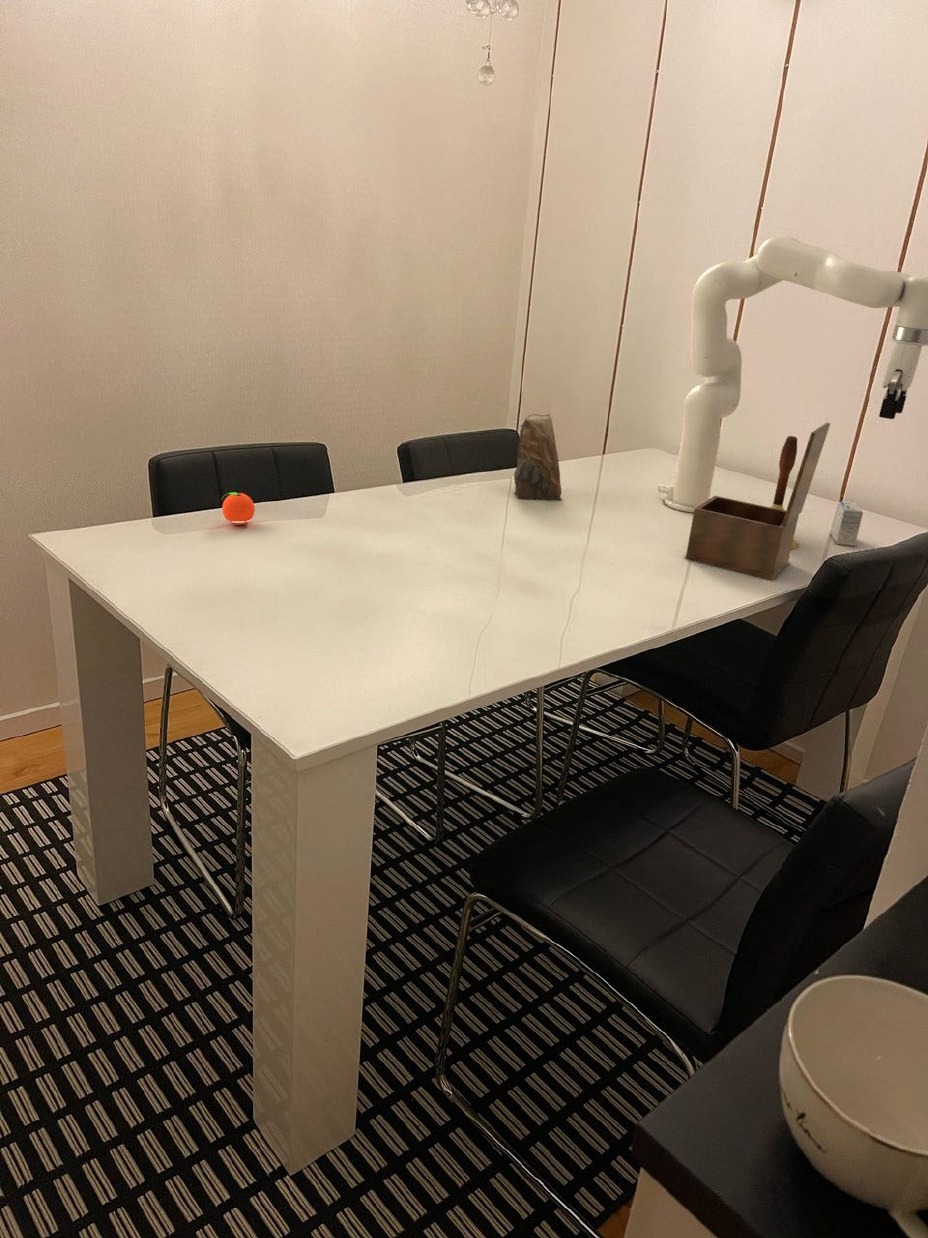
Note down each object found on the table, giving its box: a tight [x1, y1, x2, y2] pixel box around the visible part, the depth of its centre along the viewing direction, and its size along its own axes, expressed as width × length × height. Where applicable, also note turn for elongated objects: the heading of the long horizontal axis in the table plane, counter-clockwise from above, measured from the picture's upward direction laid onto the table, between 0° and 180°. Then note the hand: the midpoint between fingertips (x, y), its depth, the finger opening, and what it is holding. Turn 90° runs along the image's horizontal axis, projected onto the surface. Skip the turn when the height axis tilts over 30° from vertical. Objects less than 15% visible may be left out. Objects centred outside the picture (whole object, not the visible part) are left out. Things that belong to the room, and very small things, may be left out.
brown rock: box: [513, 413, 562, 501], centre depth 241 cm, size 13×13×20 cm
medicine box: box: [831, 501, 864, 547], centre depth 225 cm, size 8×4×9 cm, turn 168°
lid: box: [782, 422, 831, 527], centre depth 194 cm, size 20×14×1 cm
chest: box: [685, 495, 800, 581], centre depth 205 cm, size 19×14×12 cm
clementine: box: [220, 492, 256, 526], centre depth 204 cm, size 8×7×7 cm
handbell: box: [770, 435, 798, 550], centre depth 217 cm, size 12×12×25 cm
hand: (890, 414), depth 209 cm, fingers open, 9 cm apart
